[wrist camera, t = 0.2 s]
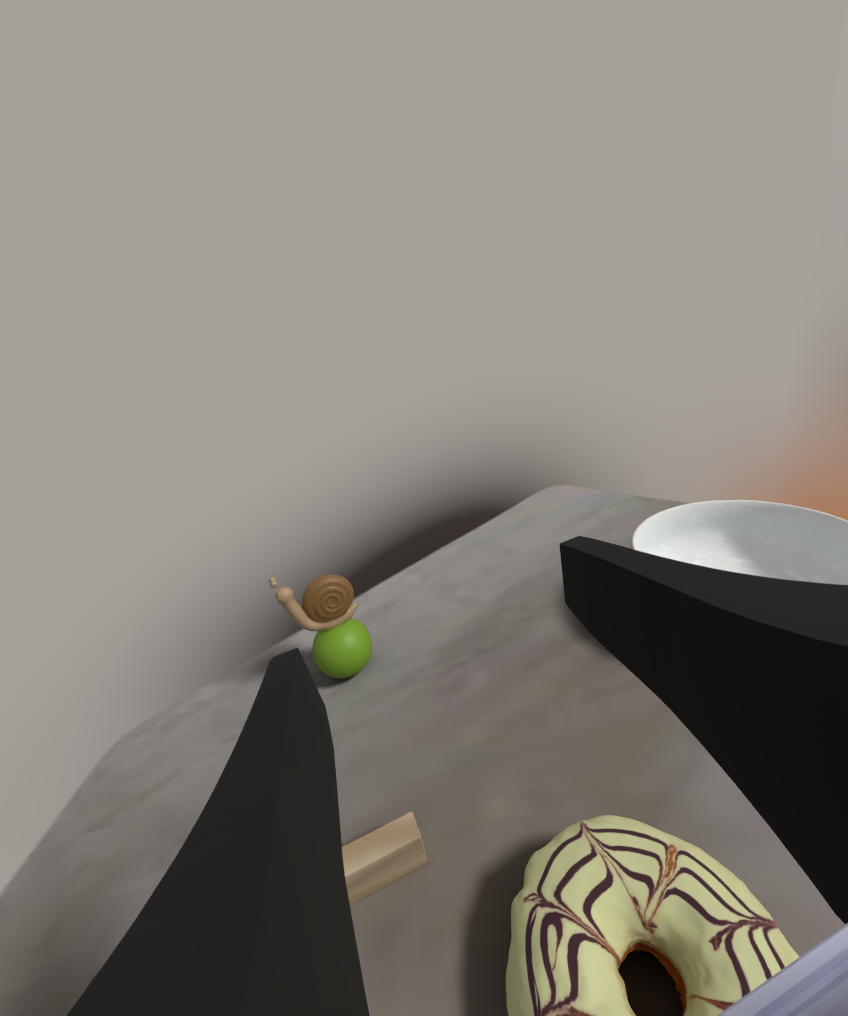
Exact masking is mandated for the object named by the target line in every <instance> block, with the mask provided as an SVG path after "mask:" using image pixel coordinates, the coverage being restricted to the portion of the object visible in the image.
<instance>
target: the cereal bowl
mask: <svg viewBox="0 0 848 1016" xmlns="http://www.w3.org/2000/svg"><path fill="white" fill-rule="evenodd" d="M631 548H632V549H634V550H637V551H641V552H645V553H649V554H653V555H657V556H661V557H665V558H669V559H673V560H677V561H681V562H686V563H690V564H695V565H700V566H705V567H709V568H714V569H719V570H725V571H730V572H736V573H743V574H749V575H756V576H762V577H769V578H777V579H785V580H794V581H805V582H815V583H826V584H838V585H848V521H847V520H844V519H841V518H839V517H836V516H833V515H830V514H827V513H823V512H820V511H816V510H812V509H808V508H803V507H799V506H793V505H787V504H781V503H774V502H765V501H751V500H717V501H706V502H697V503H691V504H686V505H681V506H677V507H673V508H670V509H667V510H664V511H661V512H659V513H657V514H655V515H653V516H651V517H649V518H648V519H646V520H645V521H643V522H642V523H641V524H640V525H639V526H638V527H637V528H636V530H635V531H634V534H633V536H632V542H631Z"/></svg>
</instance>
